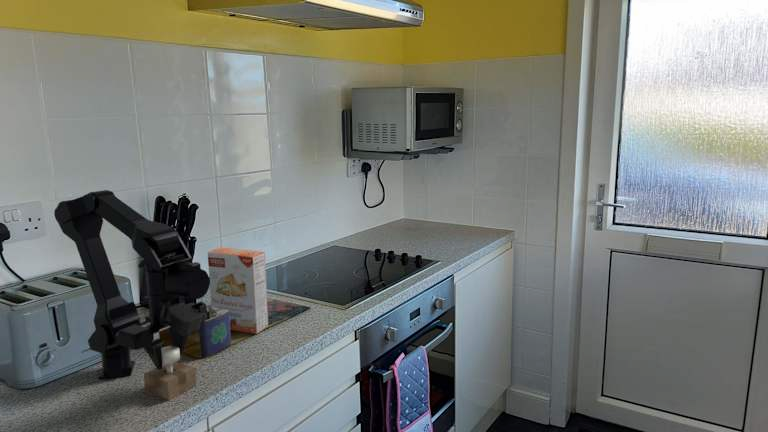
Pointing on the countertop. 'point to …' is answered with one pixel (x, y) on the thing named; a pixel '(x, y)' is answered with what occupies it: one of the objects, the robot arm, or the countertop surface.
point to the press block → (170, 381)
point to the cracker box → (239, 287)
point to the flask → (215, 333)
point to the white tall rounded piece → (170, 357)
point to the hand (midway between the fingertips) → (169, 364)
